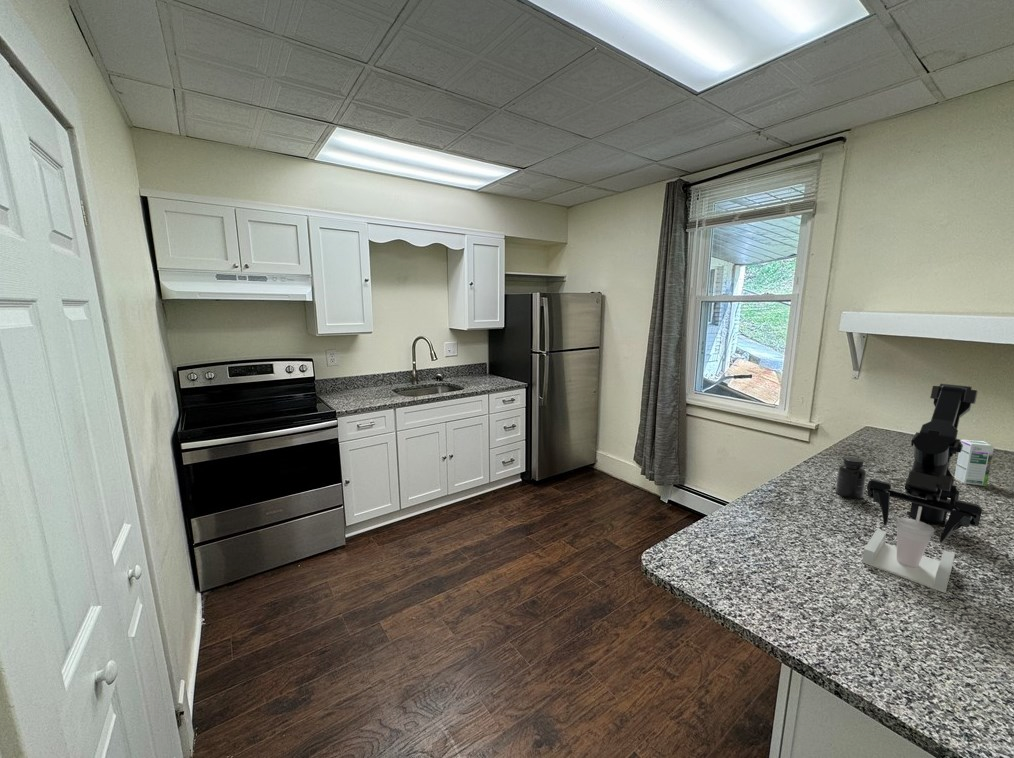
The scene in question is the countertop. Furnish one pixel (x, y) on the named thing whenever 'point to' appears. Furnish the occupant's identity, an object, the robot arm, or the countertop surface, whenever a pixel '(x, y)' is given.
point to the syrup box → (974, 462)
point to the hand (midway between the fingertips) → (911, 533)
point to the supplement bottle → (851, 478)
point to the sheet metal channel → (925, 574)
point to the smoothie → (912, 539)
